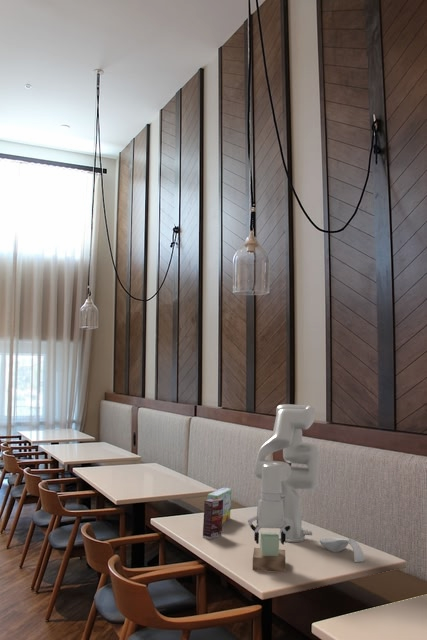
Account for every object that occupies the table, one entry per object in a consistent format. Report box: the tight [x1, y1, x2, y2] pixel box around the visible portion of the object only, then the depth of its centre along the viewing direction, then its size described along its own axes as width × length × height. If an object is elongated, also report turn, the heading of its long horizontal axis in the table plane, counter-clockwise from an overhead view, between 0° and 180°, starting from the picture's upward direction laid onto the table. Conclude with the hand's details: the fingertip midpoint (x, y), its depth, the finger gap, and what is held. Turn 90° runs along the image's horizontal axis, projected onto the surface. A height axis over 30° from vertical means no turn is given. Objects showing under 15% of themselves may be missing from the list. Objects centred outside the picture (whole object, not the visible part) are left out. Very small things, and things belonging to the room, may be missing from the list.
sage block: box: [259, 531, 280, 556], centre depth 211 cm, size 6×6×7 cm
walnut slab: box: [252, 547, 286, 573], centre depth 211 cm, size 12×12×5 cm
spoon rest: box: [319, 537, 365, 563], centre depth 231 cm, size 24×12×7 cm, turn 24°
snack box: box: [206, 487, 233, 524], centre depth 274 cm, size 21×6×15 cm, turn 159°
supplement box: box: [202, 498, 223, 540], centre depth 249 cm, size 9×5×16 cm, turn 143°
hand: (269, 543), depth 212 cm, fingers open, 9 cm apart
